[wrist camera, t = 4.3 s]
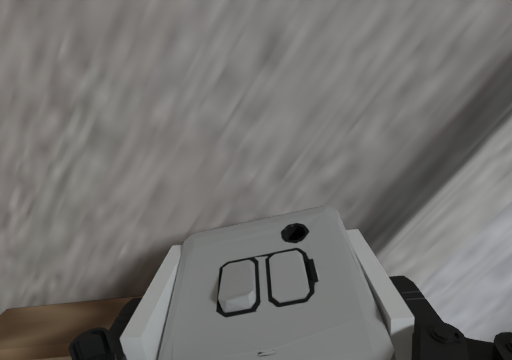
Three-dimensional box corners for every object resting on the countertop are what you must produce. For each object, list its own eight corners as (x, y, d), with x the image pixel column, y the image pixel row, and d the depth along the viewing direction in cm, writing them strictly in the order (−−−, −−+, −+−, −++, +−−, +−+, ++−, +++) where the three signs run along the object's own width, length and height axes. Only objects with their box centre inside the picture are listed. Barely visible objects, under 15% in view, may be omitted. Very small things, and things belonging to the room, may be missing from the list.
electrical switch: (335, 200, 17) (399, 328, 9) (347, 269, 18) (409, 427, 11) (184, 232, 17) (126, 374, 10) (209, 295, 19) (176, 459, 11)
